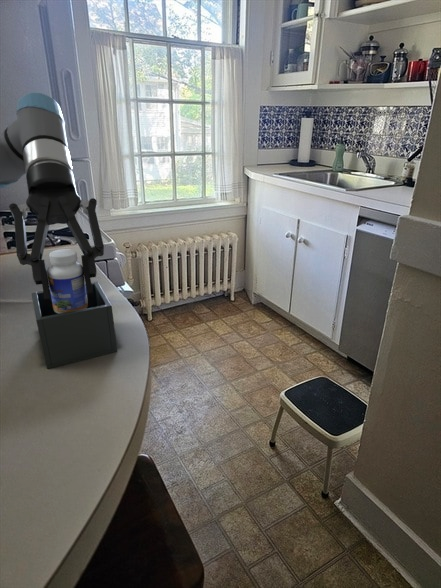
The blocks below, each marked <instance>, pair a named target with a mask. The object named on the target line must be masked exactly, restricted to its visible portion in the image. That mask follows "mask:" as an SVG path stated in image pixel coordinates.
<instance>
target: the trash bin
mask: <svg viewBox="0 0 441 588" xmlns="http://www.w3.org/2000/svg"><path fill="white" fill-rule="evenodd" d="M91 285H92V290H93V299H88V294H87V301H88V307H87V308H86V309H81V310H76V311H71V312H66V313H61V314H57V313H56V312H55V311H54V309H53V303H52V298H51V303H52V305H47V306H46V303H45V300H44V294H43V290H40V291H34V292H31V298H32V302H33V303H32V304H33V309H34V315H35V321H36V325H37V331H38V334H39V339H40V340H39V341H40V344H41V349H42V353H43V358H44V362H45V368H46V369H47V370H48V369H52V368H57V367H60V366H65V365H68V364H73V363H76V362H77V363H78V362H80V361H85V360H88V359H89V360H90V359H93V358H97V357H100V356H105V355H109V354H113V353H117V352H118V345H117V339H116V338H117V336H116V328H115V321H114V320H115V319H114V314H113V313H114V312H113V305H112V304H111V302H110V300H109V298H108V296H107V295H106V293H105V291H104V290H103V288H102V287H101V285H100V283H99V282H98V281H93V282H91ZM85 286H86V283H85ZM86 293H87V289H86ZM50 296H51V292H50Z"/></svg>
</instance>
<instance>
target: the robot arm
mask: <svg viewBox="0 0 441 588" xmlns="http://www.w3.org/2000/svg"><path fill="white" fill-rule="evenodd" d="M15 114H16V116H17V117H16V119H15V120H14V121H13V122H11V124H9V125H8V126H7V127H6V128H5V129H4V130H3V131H2V132H0V189H4V188H8V187H9V186H10V185H12V184H15V183H17V182H18V181H19V180H20V179H21V178H22V177H24V176H25V178H26V186H27V193H28V197H27V199H26V201H25V202H24V203H21V204H17V203H16V202H15V203H14V202H13V203H10V204H9V206H8V208H9V210H10V213H11V216H12V218H13V219H14V233H15V234H14V236H15V248H16V251H15V252H16V257H17V259H18V262H19V264H20V265H22V266H26V265H27V266H30V267H31V271H32V279H33V281H34V284H35V285H36V286H39V285H41V287H42V291H43V294H44V300H45V303H46V306H47V305H52V303H51V296H50V286H49V281H48V275H47V269H48V268H47V264H46V261H45V259H43V255H44V251H45V246H46V242H47V236H48V232H49V229H50V226H53V225H56V224H62V225H64V224H66V226H67V227H68V229H69V230H70V232H71V234H72V236H73V237H74V239H75V241H76V243H77V245H78V247H79V248H80V251H81V252H82V255H80V257H81V265H82V267H83V271H84V278H85V284H86V289H87V294H88V299H93V290H92V285H91V283H92V279H91V278H96V277H97V273H98V272H97V267H96V258H97V257H103V256H104V254H105V246H104V242H103V241H104V240H103V237H102V233H101V228H100V225H99V224H100V223H99V220H98V216H97V212H98V201H97V199H96V198H94V197H92V198H89V200H86V199H82V198H81V196H80V195H79V194H78V193H77V187H76V183H75V177H74V173H73V172H74V171H73V166H72V160H71V154H70V150H69V144H68V139H67V133H66V121H65V119H64V116H63V113H62V109H61V106H60V104H59V103H58V102H57V101H56V100H55V98H53V97H51V96H50V95H48V94H45V93H42V92H29V93H26V94H24V95H22V96H21V97H20V98H19V99H18V101H17V105H16V113H15ZM81 208H82V209H83V213H84V214H86V215H87V216H88V217H87V218H88V225H89V228H90V232H91V237H92V242H93V247H92V246H91V244H90V241H89V240H88V238H87V236H86V234H85V232H84V231H83V229H82V227H81V225H80V223H79V221H78V219H77V217H76V214H77V213H78V212H79V210H80V209H81ZM28 212H31V213H32V214H33V215H34V216H35V217H36V218H37V224H36V228H35V232H34V237H33V242H32V247H31V251H30V253H28V243H27V230H26V223H25V220H26V219H27V217H28Z"/></svg>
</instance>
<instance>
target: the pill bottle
mask: <svg viewBox="0 0 441 588" xmlns="http://www.w3.org/2000/svg"><path fill="white" fill-rule="evenodd" d="M48 255H49V262H50V264H51V265H49V266H48V268H47V275H48V282H49V289H50V292H51V298H52V303H53V309H54V311H55V312H56V313H57V314H61V313H66V312H71V311H76V310H81V309H86V308H87V307H88V301H87V293H86V286H85V284H86V283H85V277H84V271H83V266H82V263H79V262H77V261H78V253H77V251H76V250H75V249H72V248H61V249H56V250H52V251H51V252H50V253H49V254H48Z"/></svg>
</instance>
